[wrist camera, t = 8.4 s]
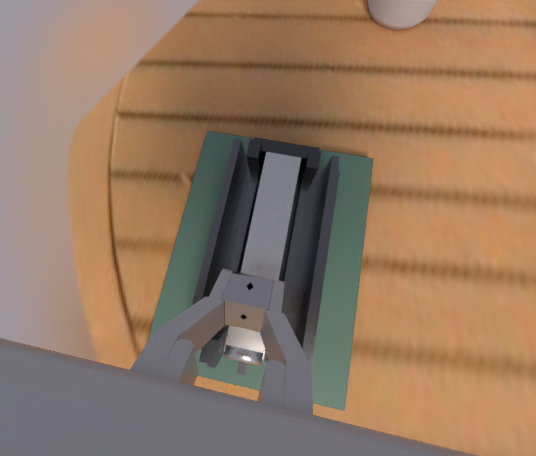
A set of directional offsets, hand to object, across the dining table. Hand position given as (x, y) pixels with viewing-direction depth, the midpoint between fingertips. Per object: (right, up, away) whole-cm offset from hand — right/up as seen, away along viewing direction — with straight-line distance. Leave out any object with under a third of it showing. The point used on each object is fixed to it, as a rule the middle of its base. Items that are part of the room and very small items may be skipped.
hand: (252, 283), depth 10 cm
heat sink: (+1, 0, +13) cm, 13 cm away
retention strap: (0, +1, +7) cm, 7 cm away
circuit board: (+1, 0, +13) cm, 13 cm away
